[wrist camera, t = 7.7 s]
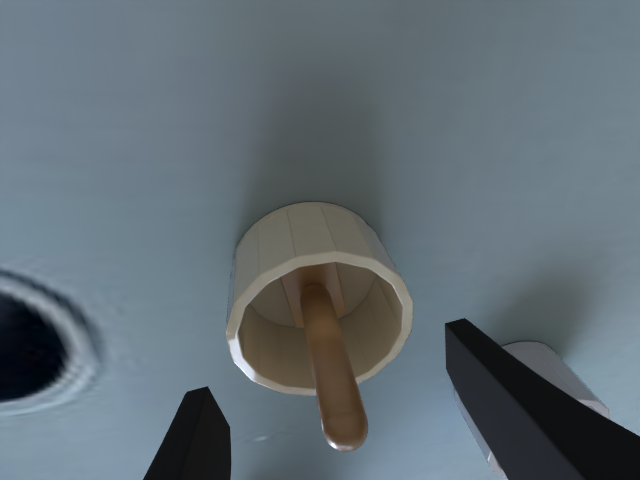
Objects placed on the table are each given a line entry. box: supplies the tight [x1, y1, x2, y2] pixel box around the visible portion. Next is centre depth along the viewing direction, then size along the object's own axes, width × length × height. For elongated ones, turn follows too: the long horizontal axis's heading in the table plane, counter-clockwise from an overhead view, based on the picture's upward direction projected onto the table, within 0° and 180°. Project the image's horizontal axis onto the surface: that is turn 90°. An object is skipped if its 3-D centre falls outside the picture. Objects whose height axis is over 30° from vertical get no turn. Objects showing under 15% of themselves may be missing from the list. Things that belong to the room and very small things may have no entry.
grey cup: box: [455, 341, 610, 477], centre depth 21 cm, size 6×6×4 cm
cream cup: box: [226, 202, 414, 396], centre depth 14 cm, size 6×6×4 cm
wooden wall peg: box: [280, 262, 368, 452], centre depth 13 cm, size 3×2×7 cm
